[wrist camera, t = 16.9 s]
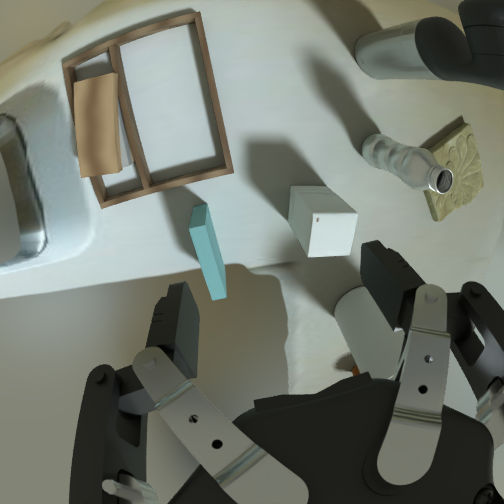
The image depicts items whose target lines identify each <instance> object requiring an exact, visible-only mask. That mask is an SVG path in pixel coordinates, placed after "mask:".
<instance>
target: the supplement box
mask: <svg viewBox="0 0 504 504" xmlns="http://www.w3.org/2000/svg"><path fill="white" fill-rule="evenodd" d="M357 218H358V213H357V212H356V211H355V210H354V209H353V208H352V207H351V206H349V205H348V204H347V203H346V202H345V201H344V200H343V199H341V198H340V197H339V196H338V195H337V194H336V193H334V192H333V191H332V190H331V189H330V188H328V187H327V186H291V188H290V200H289V213H288V223H289V225H290V227H291V228H292V230H293V232H294V234H295V235H296V237H297V239H298V241H299V243H300V244H301V246H302V248H303V250H304V252H305V253H306V255H307V257H325V256H344V255H350V251H351V246H352V241H353V237H354V232H355V227H356V223H357Z"/></svg>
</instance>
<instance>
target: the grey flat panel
mask: <svg viewBox="0 0 504 504" xmlns="http://www.w3.org/2000/svg"><path fill="white" fill-rule="evenodd" d="M118 120H119V137H120V149H121V160H122V168H123V167H126V166H129V165H131V164H132V163H133V161H132V157H131V153H130V148H129V144H128V139H127V134H126V130H125V125H124V119H123V114H122V110H121V105H120V101H119V97H118Z"/></svg>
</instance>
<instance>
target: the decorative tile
mask: <svg viewBox="0 0 504 504" xmlns="http://www.w3.org/2000/svg"><path fill="white" fill-rule="evenodd" d="M428 151H430V152H431V153H432V154H433V155H434V156H435V157H436V159H437V161H438V163H439V164H441V165H443V166H444V167H446V168H448V169H449V170H451V172H452V174H453V185H452V187H451V189H450V190H449V191H448V192H447V193H445V194H440V193H438V192H436V191H433V190H431V189H427V190H423V191H424V194H425V197H426V200H427V203H428V206H429V209H430V212H431V215H432V218H433V220H434V221H435V222H437V221H439V222H440V221H442V220H443V219H444V218H445V217H446V216H447V215H448V214H449V213H451V212H452V211H453V210H455V209H458V208H460V207H461V206H462V205H466V204H469V203H471V202H472V200H473V198H474V197H475V196H477V194H478V193H479V191H480V189H481V188H482V187H484V182H483V175H482V171H481V160H480V156H479V154H478V151H477V144H476V140H475V137H474V135H473V132H472V128H471V125H470V124H468V123H463V124H461V125H460V126H459V127H458V128H456V129H455V130H453V131H452V132H451V133H450V134H448V135H447V136H446V137H444V138H443V139H442V140H440V141H439V142H438V143H436V144H435V145H434V146H433V147H431V148H430V149H429V150H428Z"/></svg>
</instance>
